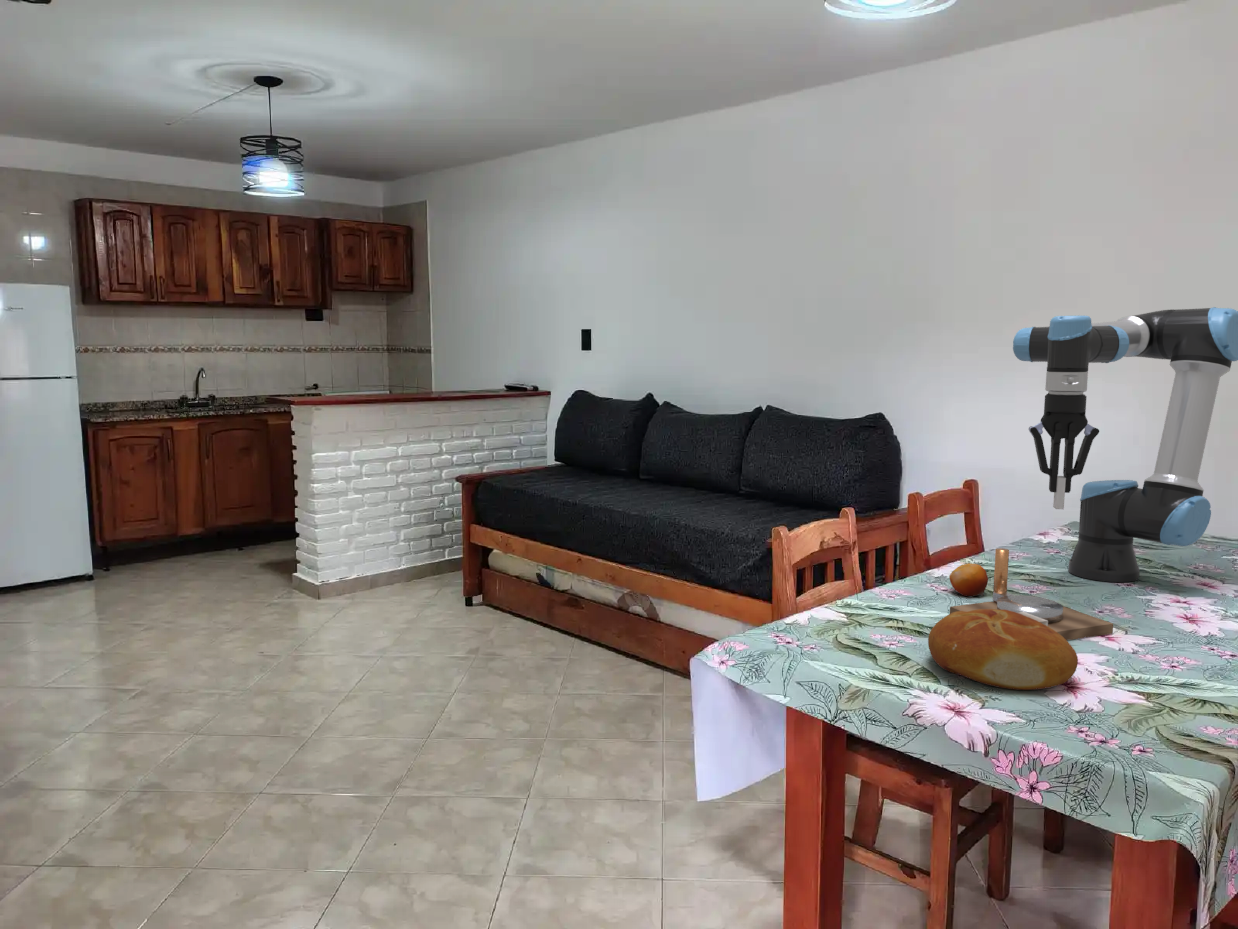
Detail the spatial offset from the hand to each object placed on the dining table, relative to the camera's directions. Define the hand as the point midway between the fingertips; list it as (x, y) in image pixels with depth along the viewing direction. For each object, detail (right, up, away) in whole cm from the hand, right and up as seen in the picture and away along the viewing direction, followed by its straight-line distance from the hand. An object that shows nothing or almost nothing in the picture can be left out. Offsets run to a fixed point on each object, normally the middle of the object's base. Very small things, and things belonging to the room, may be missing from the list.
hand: (1058, 508), depth 181 cm
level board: (-8, -23, -4) cm, 25 cm away
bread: (-25, -27, -28) cm, 46 cm away
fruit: (-11, -20, +18) cm, 30 cm away
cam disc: (-9, -21, -2) cm, 22 cm away
